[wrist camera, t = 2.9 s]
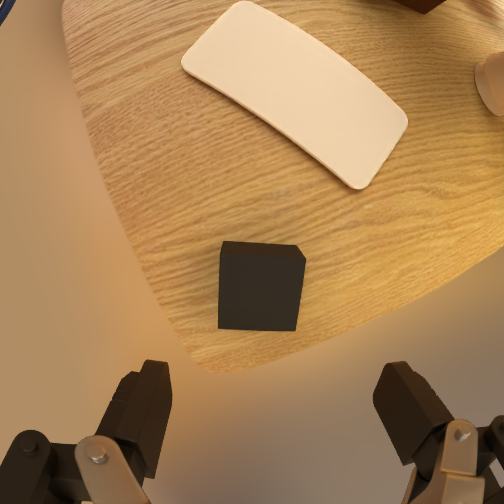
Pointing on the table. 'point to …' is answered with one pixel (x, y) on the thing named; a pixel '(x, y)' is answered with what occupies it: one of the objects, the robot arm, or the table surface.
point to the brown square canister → (421, 4)
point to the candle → (491, 82)
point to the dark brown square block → (260, 286)
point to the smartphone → (299, 90)
